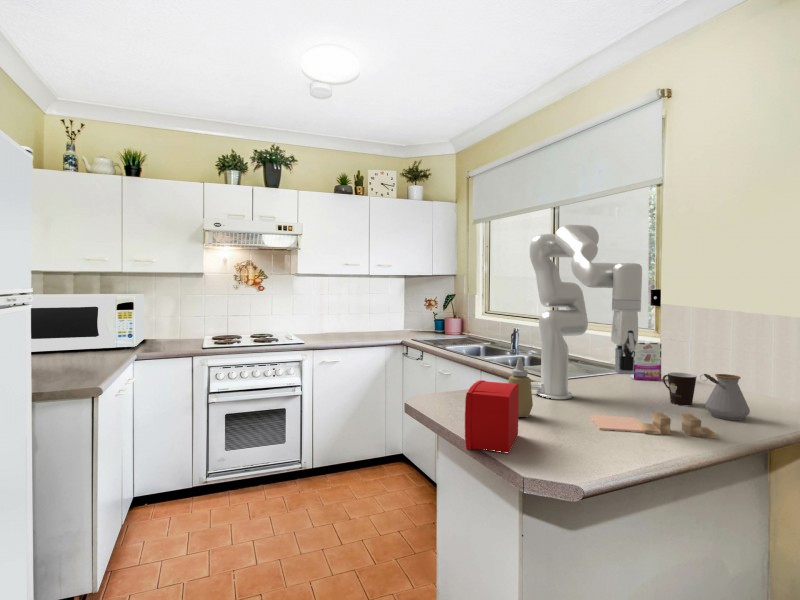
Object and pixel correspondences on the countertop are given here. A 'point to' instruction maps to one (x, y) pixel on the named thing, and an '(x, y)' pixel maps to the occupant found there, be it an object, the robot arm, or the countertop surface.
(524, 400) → the squeeze bottle
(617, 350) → the metal block
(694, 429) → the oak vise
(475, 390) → the red rounded box
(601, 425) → the terracotta tile
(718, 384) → the coffee pot
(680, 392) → the coffee mug
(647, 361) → the candy bar box
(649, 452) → the countertop surface
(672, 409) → the countertop surface
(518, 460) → the countertop surface
